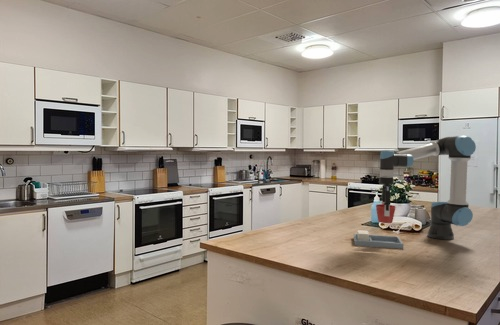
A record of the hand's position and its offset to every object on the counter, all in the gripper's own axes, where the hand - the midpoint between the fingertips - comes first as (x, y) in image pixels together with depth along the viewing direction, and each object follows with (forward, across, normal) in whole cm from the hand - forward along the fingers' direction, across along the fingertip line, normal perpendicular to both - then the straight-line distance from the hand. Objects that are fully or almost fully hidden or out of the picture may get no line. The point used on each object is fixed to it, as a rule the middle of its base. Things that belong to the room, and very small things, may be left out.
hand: (385, 214), depth 214 cm
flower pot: (+5, 0, 0) cm, 5 cm away
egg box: (+17, 0, -12) cm, 21 cm away
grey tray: (+18, 0, -4) cm, 18 cm away
